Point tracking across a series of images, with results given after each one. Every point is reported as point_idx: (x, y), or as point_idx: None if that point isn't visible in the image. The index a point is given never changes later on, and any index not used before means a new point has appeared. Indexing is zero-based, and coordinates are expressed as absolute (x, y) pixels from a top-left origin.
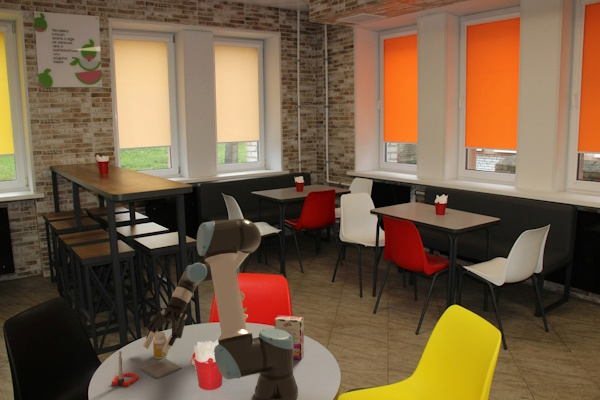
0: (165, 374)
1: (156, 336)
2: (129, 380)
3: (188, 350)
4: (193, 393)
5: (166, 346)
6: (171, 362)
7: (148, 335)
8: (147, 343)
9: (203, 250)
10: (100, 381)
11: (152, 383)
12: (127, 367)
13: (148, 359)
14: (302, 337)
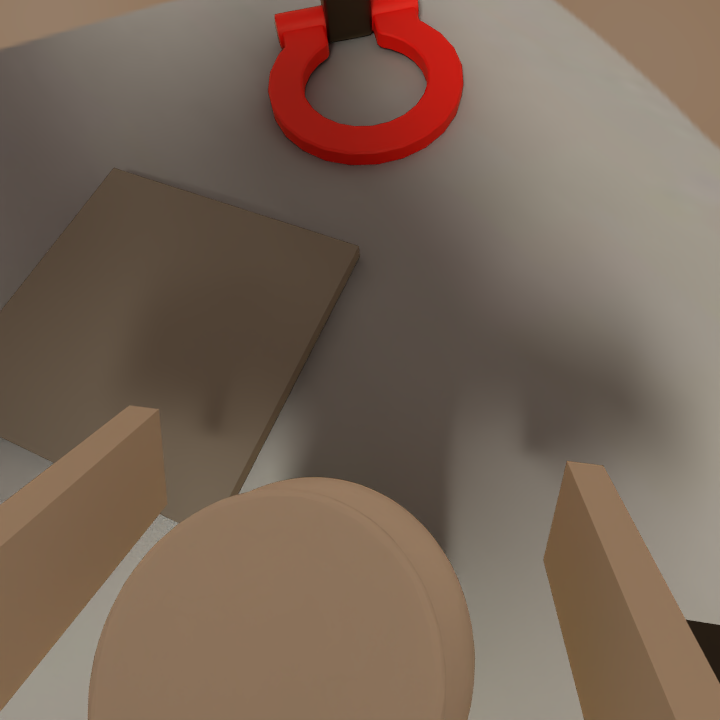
0: (63, 238)
1: (301, 494)
2: (306, 54)
3: None
4: None
5: (66, 465)
6: None
7: (696, 652)
8: (576, 548)
9: None
10: (536, 19)
11: (127, 121)
12: (519, 239)
13: (436, 469)
14: None
